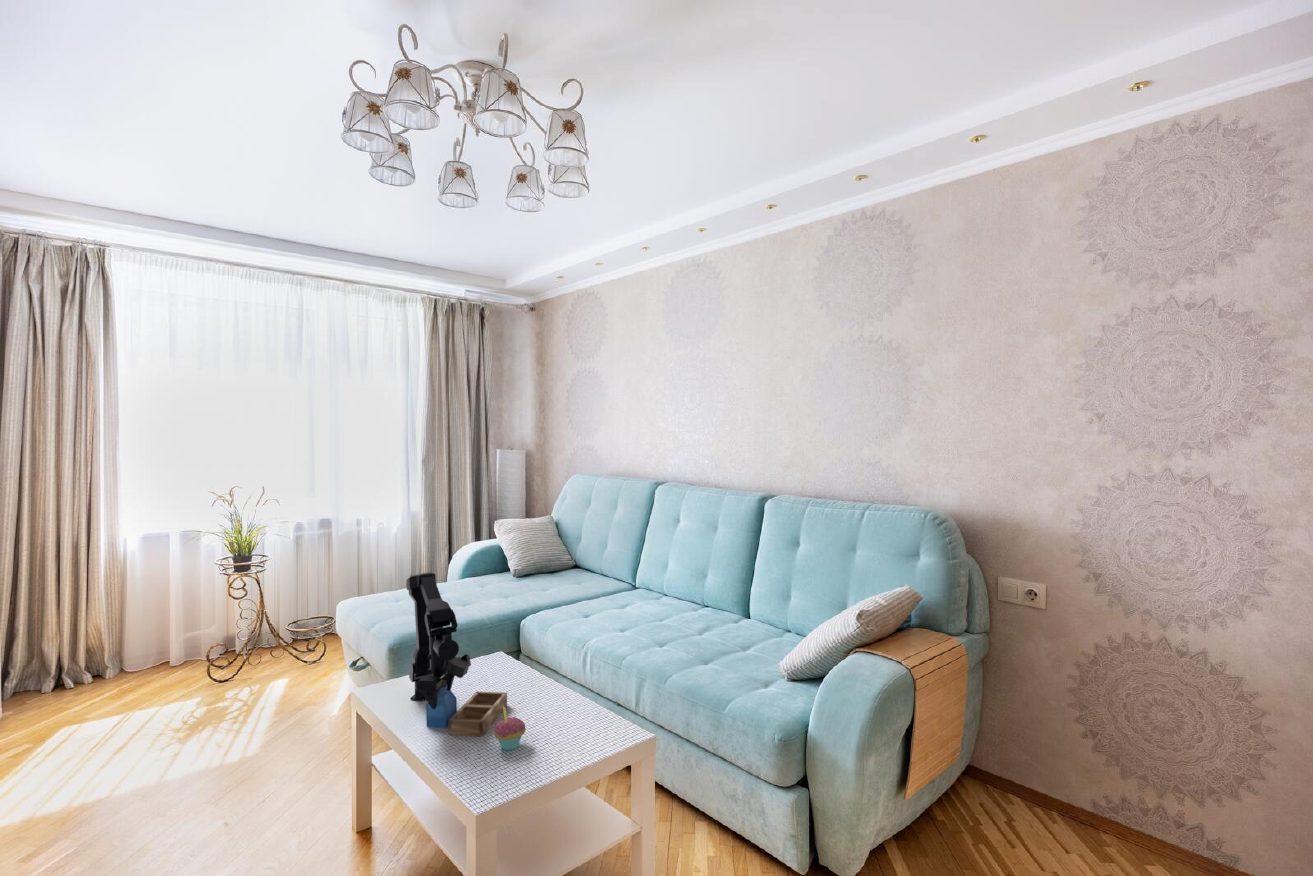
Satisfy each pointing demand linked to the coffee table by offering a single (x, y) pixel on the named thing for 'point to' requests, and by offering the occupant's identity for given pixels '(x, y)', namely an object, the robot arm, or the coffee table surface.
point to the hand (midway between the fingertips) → (440, 702)
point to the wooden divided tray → (477, 714)
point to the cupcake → (509, 732)
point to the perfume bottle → (442, 708)
